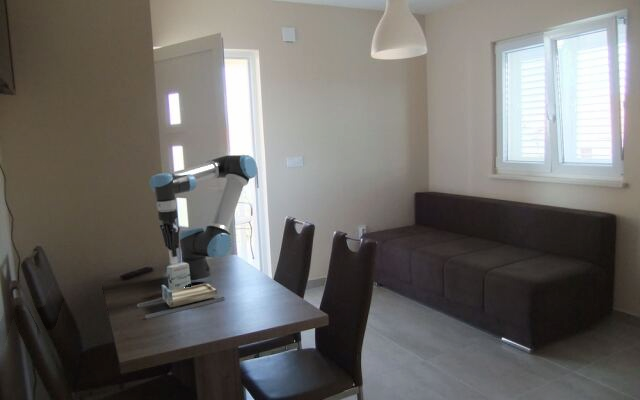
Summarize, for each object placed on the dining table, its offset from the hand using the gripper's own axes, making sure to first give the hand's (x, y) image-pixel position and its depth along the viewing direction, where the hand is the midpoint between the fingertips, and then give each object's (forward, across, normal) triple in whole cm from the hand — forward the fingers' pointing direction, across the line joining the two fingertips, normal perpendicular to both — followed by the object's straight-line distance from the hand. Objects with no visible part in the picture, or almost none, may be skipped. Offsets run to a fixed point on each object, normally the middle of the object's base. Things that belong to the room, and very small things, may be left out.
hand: (174, 263), depth 199 cm
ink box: (+14, -2, +2) cm, 14 cm away
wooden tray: (+13, +14, -2) cm, 19 cm away
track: (+13, +13, -6) cm, 19 cm away
